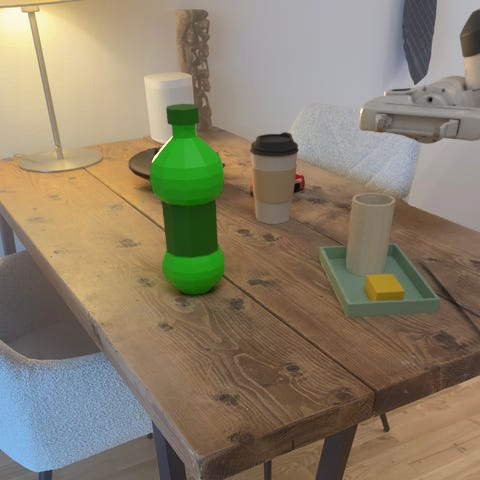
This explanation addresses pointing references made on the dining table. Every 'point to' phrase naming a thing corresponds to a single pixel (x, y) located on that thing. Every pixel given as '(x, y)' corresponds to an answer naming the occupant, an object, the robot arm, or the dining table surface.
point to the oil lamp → (144, 162)
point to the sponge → (383, 288)
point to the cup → (369, 233)
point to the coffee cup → (273, 176)
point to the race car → (298, 184)
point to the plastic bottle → (189, 203)
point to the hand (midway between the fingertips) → (407, 129)
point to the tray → (398, 264)
